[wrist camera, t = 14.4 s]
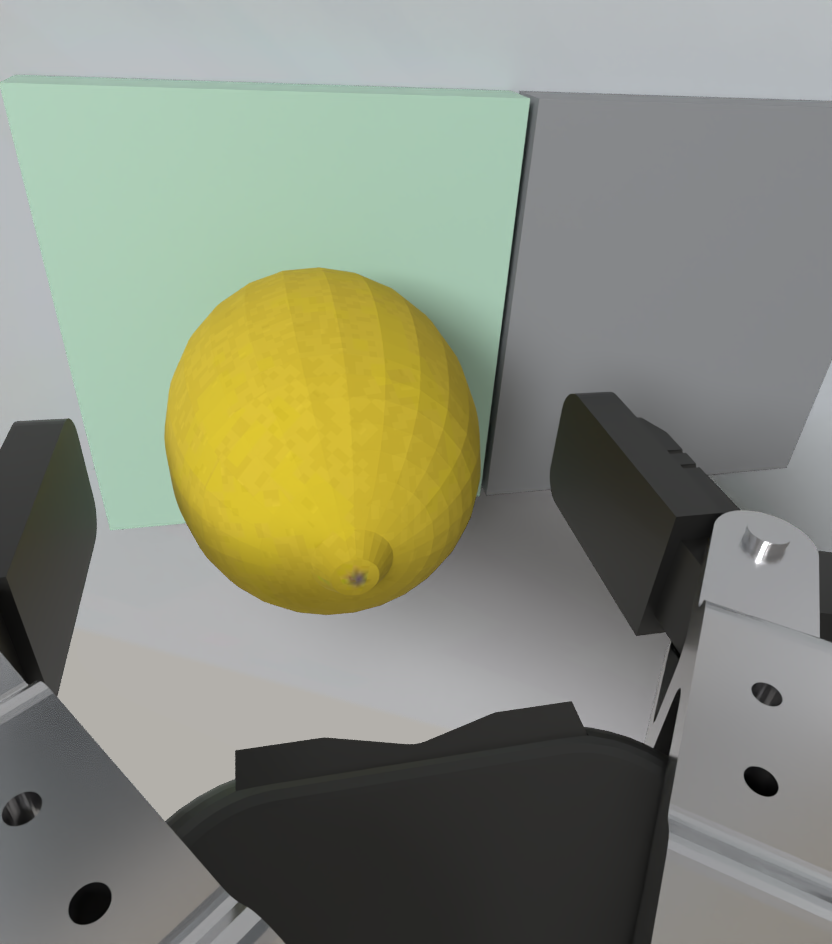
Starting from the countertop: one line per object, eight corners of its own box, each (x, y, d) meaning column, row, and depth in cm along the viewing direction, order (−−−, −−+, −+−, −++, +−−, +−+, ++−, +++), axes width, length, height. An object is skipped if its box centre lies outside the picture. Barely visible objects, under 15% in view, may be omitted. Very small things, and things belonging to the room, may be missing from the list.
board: (896, 103, 17) (936, 110, 16) (763, 447, 23) (786, 467, 22) (15, 75, 13) (-1, 82, 12) (116, 501, 19) (109, 529, 18)
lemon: (436, 412, 18) (551, 653, 12) (222, 465, 18) (220, 746, 11) (403, 190, 15) (537, 359, 8) (137, 248, 14) (66, 472, 8)
